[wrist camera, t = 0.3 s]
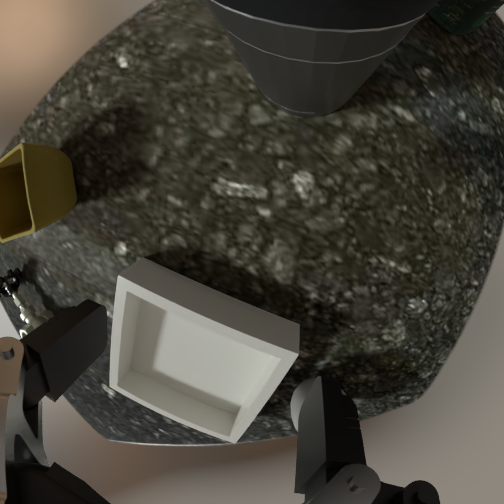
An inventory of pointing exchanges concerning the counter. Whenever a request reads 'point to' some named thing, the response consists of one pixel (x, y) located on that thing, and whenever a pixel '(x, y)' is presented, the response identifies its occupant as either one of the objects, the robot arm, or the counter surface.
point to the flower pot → (34, 189)
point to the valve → (22, 302)
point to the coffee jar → (463, 14)
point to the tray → (196, 350)
